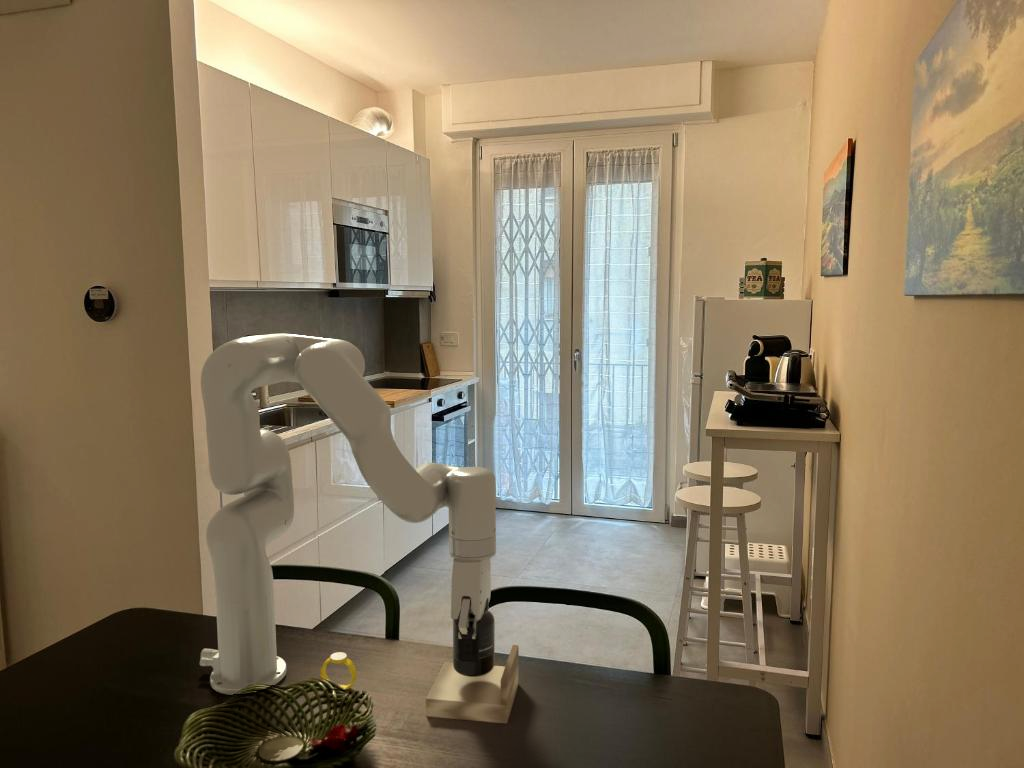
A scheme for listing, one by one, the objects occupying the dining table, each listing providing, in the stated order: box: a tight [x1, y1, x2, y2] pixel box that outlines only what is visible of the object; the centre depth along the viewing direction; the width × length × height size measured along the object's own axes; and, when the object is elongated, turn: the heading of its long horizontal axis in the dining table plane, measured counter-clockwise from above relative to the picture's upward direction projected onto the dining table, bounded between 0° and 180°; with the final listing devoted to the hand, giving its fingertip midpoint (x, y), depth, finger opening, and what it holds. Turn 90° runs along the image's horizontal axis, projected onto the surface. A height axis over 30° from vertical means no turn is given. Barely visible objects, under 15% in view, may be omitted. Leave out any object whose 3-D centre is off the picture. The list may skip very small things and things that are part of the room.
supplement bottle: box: [452, 598, 496, 677], centre depth 122 cm, size 7×7×12 cm
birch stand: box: [425, 644, 520, 724], centre depth 123 cm, size 13×12×7 cm
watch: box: [320, 651, 357, 690], centre depth 127 cm, size 6×3×6 cm, turn 78°
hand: (473, 648), depth 122 cm, fingers closed on supplement bottle, 6 cm apart
